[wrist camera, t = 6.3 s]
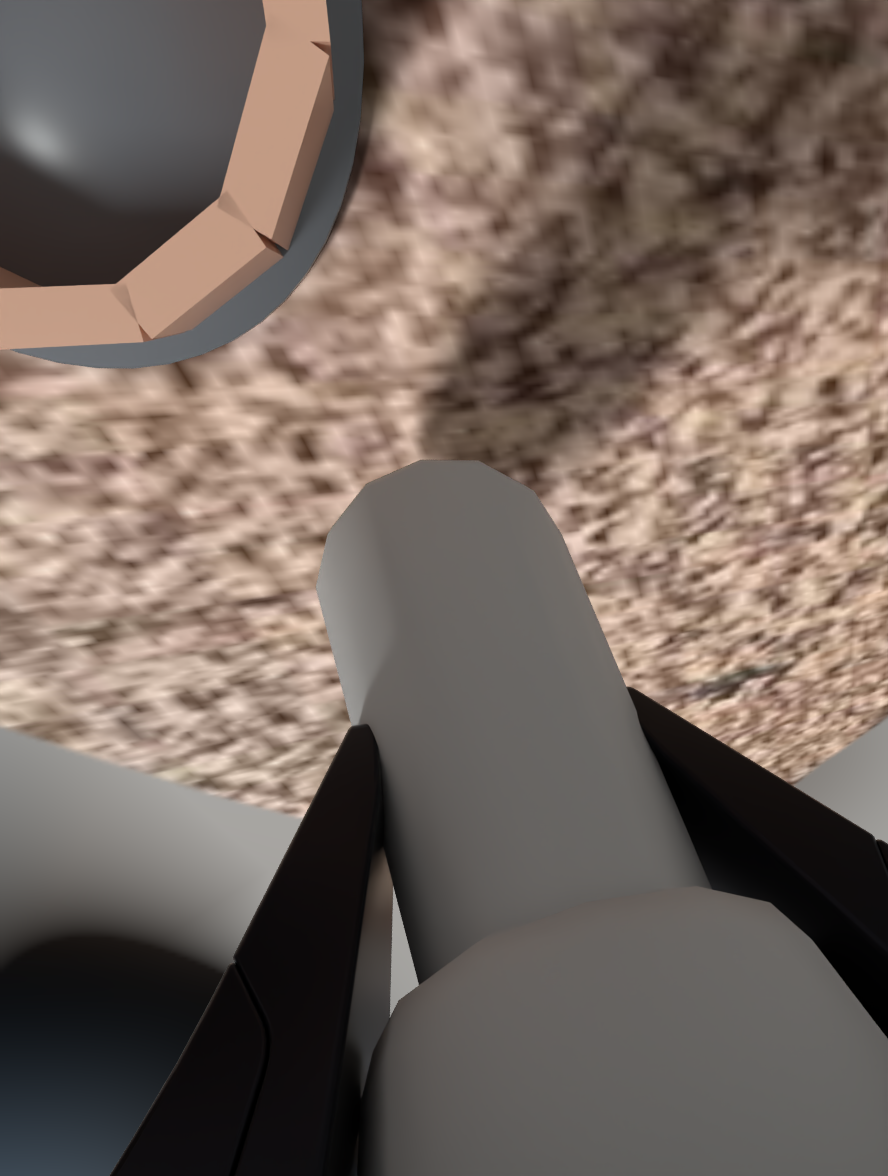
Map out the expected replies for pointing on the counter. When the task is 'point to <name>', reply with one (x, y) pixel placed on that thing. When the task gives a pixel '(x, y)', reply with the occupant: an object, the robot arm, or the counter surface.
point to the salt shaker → (562, 884)
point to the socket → (167, 168)
